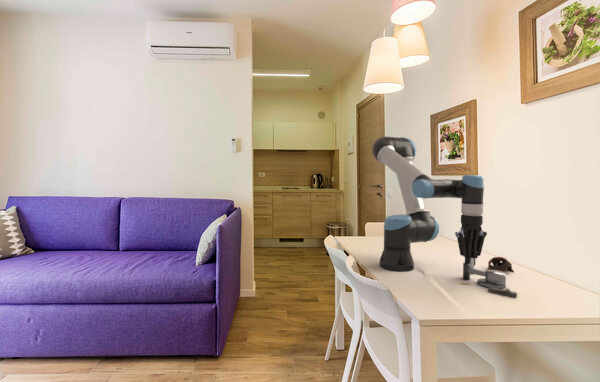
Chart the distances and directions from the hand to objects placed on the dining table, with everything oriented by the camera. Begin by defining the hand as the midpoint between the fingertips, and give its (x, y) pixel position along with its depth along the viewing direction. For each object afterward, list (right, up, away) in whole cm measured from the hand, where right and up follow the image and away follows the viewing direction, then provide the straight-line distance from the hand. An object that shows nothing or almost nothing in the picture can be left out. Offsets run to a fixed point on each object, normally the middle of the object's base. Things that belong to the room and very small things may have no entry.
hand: (469, 273), depth 127 cm
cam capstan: (+2, -2, -7) cm, 7 cm away
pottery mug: (+19, -3, +11) cm, 22 cm away
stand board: (+3, -3, -8) cm, 9 cm away
